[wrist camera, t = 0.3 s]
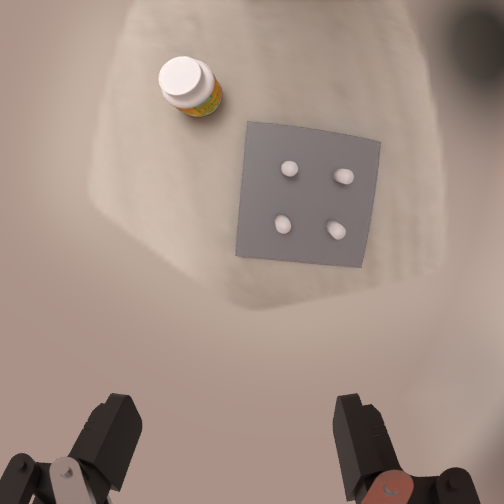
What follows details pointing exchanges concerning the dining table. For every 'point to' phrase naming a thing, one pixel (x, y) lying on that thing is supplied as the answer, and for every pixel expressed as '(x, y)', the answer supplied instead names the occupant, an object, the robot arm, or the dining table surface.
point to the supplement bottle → (190, 86)
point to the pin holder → (306, 195)
